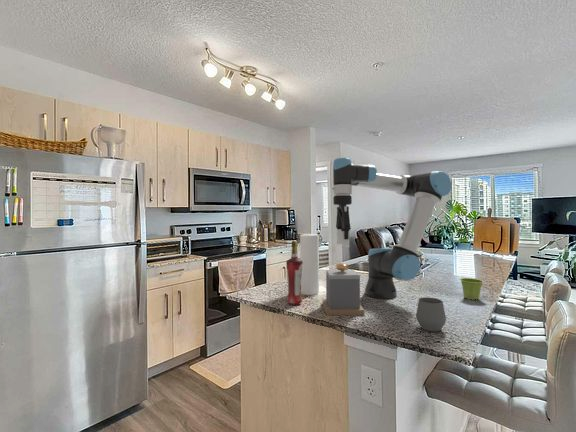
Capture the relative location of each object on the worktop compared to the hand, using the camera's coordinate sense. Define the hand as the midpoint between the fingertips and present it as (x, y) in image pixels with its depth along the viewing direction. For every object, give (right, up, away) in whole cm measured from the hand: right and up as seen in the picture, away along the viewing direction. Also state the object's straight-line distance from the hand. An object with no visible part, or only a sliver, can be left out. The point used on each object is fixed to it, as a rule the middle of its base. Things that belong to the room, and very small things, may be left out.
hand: (342, 245), depth 128 cm
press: (0, -27, 0) cm, 27 cm away
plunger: (0, -24, 0) cm, 24 cm away
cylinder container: (-12, -27, +27) cm, 40 cm away
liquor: (-20, -27, +8) cm, 35 cm away
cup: (+27, -27, -22) cm, 44 cm away
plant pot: (+64, -27, +16) cm, 71 cm away
